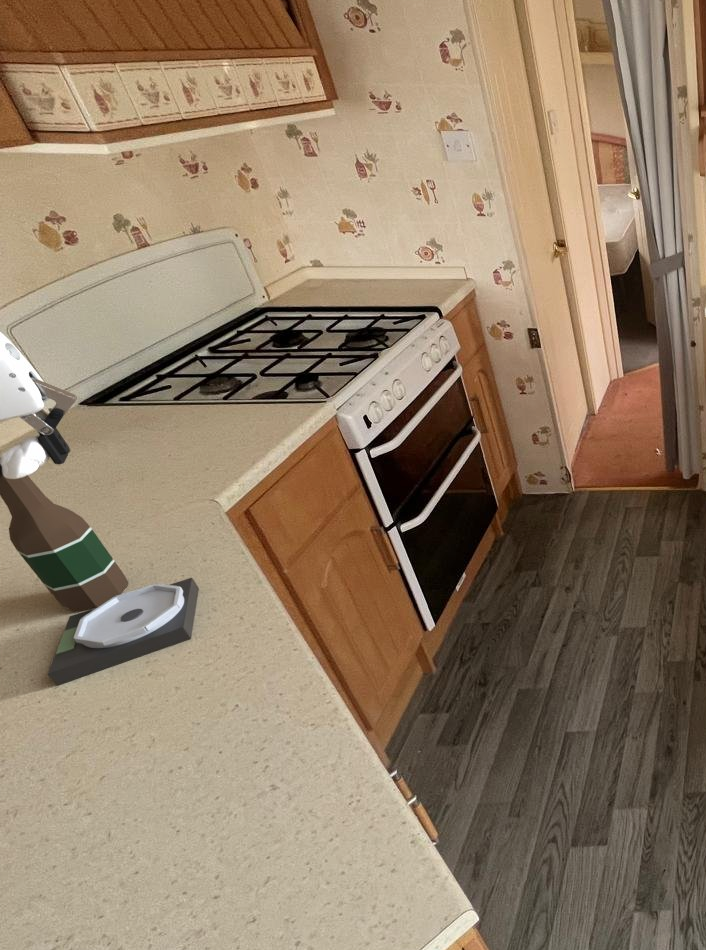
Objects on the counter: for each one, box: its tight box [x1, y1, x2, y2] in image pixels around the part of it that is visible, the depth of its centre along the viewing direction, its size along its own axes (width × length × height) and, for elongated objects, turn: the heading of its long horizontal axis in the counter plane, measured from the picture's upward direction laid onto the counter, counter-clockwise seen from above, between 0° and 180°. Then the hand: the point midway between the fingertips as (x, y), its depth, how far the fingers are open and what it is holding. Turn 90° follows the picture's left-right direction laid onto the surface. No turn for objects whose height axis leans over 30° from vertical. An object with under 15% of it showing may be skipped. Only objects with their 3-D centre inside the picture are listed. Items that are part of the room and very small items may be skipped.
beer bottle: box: [0, 474, 129, 613], centre depth 97 cm, size 8×8×24 cm
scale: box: [46, 577, 200, 686], centre depth 95 cm, size 14×13×4 cm
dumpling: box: [0, 434, 50, 479], centre depth 84 cm, size 7×5×4 cm
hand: (30, 465), depth 84 cm, fingers closed on dumpling, 5 cm apart
